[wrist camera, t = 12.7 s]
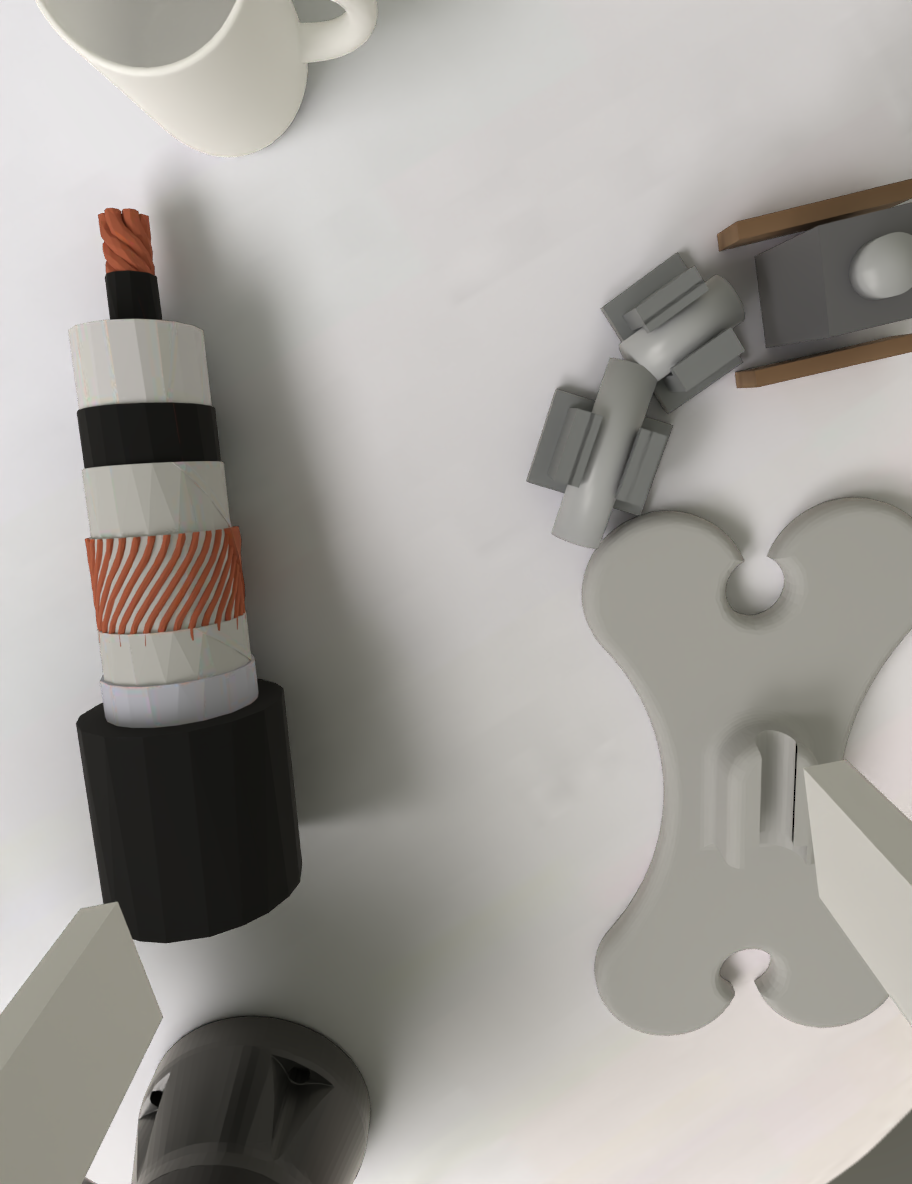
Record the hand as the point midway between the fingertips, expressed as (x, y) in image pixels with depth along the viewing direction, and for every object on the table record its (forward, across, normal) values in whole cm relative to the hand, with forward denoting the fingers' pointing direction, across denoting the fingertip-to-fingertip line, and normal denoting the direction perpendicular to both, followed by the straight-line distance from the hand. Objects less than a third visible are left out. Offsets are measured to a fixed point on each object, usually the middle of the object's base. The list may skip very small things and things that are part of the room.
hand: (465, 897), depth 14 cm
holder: (+29, -14, +17) cm, 37 cm away
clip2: (+29, -13, -10) cm, 33 cm away
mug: (+29, +4, -26) cm, 39 cm away
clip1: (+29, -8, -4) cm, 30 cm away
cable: (+29, +15, -4) cm, 33 cm away
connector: (+29, -20, -10) cm, 36 cm away
